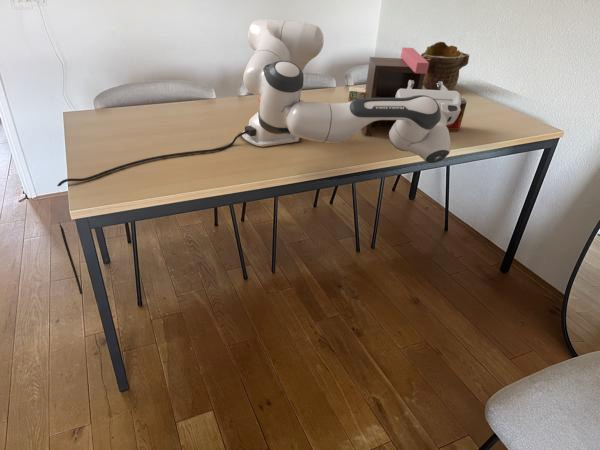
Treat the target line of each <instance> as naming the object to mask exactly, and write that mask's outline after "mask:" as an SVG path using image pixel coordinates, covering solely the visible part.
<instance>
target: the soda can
mask: <svg viewBox="0 0 600 450" xmlns="http://www.w3.org/2000/svg"><path fill="white" fill-rule="evenodd" d="M467 103H468V101H467V100H466V98H463V97H461V105H460V108H461V111H460V113H459V115H458V117H457V119H456V120H455V122H454V123H453V124H449V125H446V126H447V128H448V130H449V132H457V131H458V130H459V128H461V126H462V122H463V117H464V115H465V111H466V107H467Z"/></svg>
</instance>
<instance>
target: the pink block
mask: <svg viewBox="0 0 600 450" xmlns="http://www.w3.org/2000/svg"><path fill="white" fill-rule="evenodd" d="M400 58H401V59H403V60H404V61H405V62H406V64H407V65H408V66H409V67H410V68H411V69H412V70H413V71H414V72H415V73H421V74H427V71H428V66H429V63H428V62H427V61H426V60H425V59H424V58H423V57H422V56H421V54H420V53H419V52H418V51H417V50H415V48H413V47H401V54H400Z"/></svg>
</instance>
